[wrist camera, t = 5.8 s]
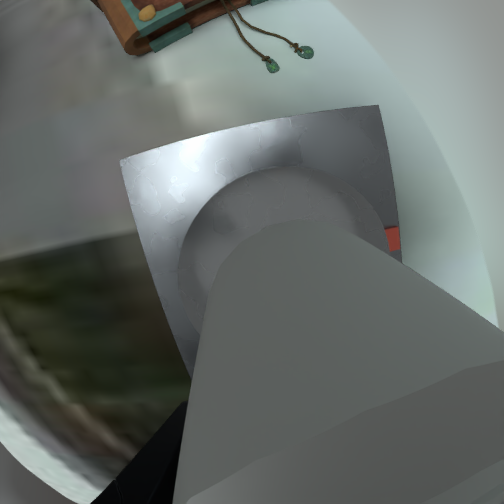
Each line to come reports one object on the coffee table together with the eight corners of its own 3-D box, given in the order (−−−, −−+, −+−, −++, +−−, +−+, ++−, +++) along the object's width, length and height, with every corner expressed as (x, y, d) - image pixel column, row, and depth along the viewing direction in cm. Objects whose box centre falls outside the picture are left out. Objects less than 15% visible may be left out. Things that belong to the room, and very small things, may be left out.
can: (378, 211, 12) (653, 340, 1) (368, 359, 14) (484, 557, 3) (199, 222, 12) (21, 553, 1) (219, 377, 14) (212, 628, 3)
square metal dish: (397, 336, 21) (418, 361, 17) (198, 385, 21) (194, 418, 18) (371, 107, 16) (398, 97, 13) (125, 160, 17) (101, 160, 13)
